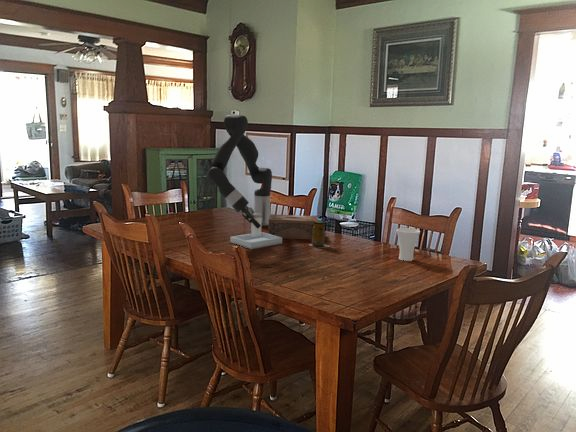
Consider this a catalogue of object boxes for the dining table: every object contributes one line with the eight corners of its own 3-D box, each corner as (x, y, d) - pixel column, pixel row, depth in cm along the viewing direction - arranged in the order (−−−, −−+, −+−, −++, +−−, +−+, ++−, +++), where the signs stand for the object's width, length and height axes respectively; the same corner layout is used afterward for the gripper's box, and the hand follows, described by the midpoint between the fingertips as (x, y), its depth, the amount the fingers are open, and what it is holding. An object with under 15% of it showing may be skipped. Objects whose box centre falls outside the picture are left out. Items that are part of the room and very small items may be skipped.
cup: (401, 263, 219) (403, 233, 216) (390, 256, 229) (392, 228, 226) (422, 262, 221) (424, 232, 219) (410, 255, 231) (412, 227, 229)
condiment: (318, 243, 250) (319, 219, 248) (330, 246, 244) (331, 222, 242) (307, 245, 246) (308, 221, 244) (319, 248, 239) (320, 224, 237)
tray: (261, 237, 258) (261, 231, 257) (282, 243, 247) (282, 237, 246) (230, 242, 244) (230, 236, 244) (250, 249, 233) (250, 243, 233)
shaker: (256, 234, 248) (257, 212, 246) (263, 236, 245) (264, 214, 243) (249, 235, 245) (249, 213, 243) (255, 237, 241) (256, 215, 239)
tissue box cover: (316, 234, 272) (317, 216, 270) (317, 240, 258) (318, 221, 256) (269, 232, 273) (270, 214, 271) (268, 238, 258) (268, 219, 257)
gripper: (239, 197, 235) (263, 224, 236) (245, 193, 249) (268, 218, 250) (228, 208, 237) (252, 234, 237) (234, 203, 251) (257, 228, 251)
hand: (260, 226), depth 244 cm, fingers closed on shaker, 5 cm apart
